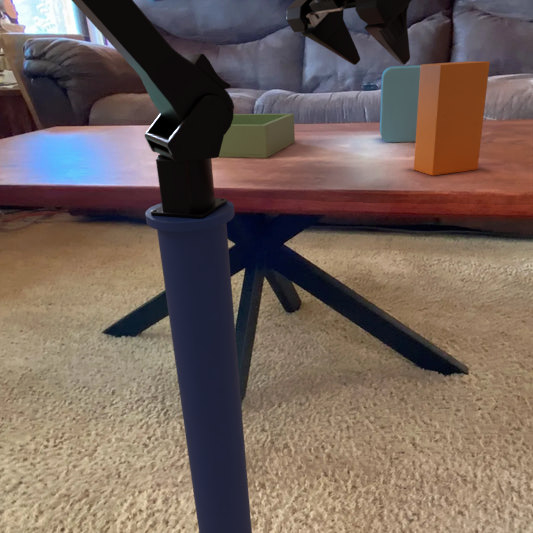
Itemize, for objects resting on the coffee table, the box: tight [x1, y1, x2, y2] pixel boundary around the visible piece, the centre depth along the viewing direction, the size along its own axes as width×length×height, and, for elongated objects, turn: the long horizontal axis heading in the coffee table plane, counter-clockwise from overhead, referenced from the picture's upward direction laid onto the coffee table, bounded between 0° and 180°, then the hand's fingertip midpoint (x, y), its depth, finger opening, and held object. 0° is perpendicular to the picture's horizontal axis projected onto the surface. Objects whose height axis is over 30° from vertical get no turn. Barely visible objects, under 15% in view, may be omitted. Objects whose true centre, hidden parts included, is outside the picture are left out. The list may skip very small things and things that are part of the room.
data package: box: [379, 64, 422, 143], centre depth 86 cm, size 12×4×12 cm, turn 81°
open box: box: [218, 113, 296, 159], centre depth 88 cm, size 15×15×5 cm
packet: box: [413, 60, 491, 177], centre depth 64 cm, size 4×7×13 cm, turn 110°
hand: (380, 62), depth 62 cm, fingers open, 9 cm apart
